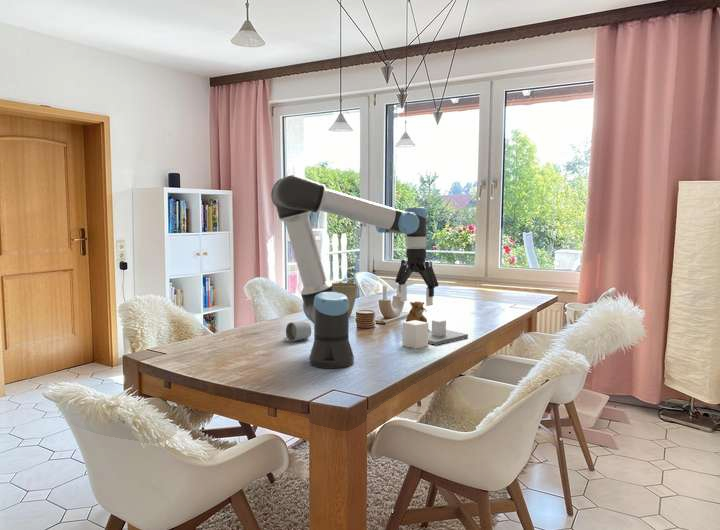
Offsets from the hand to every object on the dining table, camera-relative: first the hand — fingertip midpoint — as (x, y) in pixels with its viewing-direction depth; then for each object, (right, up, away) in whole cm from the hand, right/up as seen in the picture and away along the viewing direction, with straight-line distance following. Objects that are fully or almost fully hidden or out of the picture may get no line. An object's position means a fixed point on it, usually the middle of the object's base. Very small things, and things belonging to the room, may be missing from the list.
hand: (416, 303), depth 200 cm
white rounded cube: (0, -16, +1) cm, 17 cm away
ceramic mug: (-47, -16, +12) cm, 51 cm away
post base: (+11, -15, +13) cm, 23 cm away
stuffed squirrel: (+3, -14, +29) cm, 32 cm away
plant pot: (-30, -11, +62) cm, 70 cm away
